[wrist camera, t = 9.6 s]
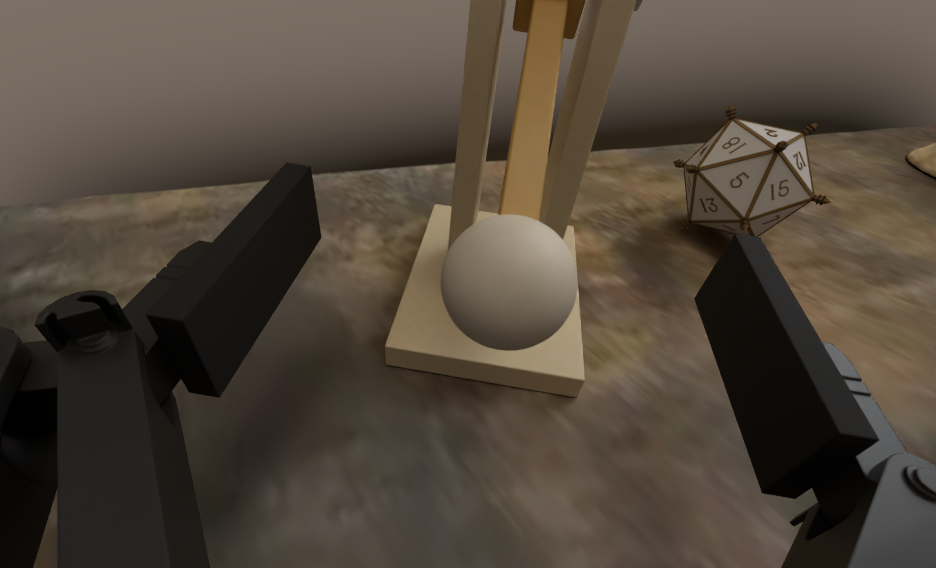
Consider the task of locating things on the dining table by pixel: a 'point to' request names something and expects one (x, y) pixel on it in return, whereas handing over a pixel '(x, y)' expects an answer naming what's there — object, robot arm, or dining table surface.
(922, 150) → the hand bell
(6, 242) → the dining table surface
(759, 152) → the game die
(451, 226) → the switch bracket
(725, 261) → the robot arm
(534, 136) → the lever
